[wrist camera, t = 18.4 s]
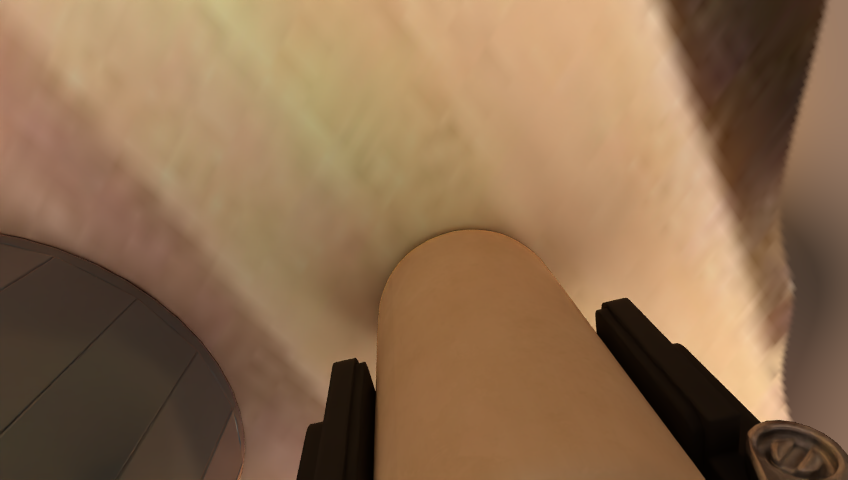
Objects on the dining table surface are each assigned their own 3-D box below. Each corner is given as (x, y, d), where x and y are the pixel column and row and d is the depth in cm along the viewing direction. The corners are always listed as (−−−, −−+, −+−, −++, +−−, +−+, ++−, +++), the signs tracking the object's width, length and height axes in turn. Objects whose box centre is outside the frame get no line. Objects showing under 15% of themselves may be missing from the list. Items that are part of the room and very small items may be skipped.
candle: (486, 405, 16) (620, 881, 7) (344, 336, 15) (276, 821, 5) (589, 282, 15) (938, 679, 5) (443, 191, 13) (580, 523, 4)
